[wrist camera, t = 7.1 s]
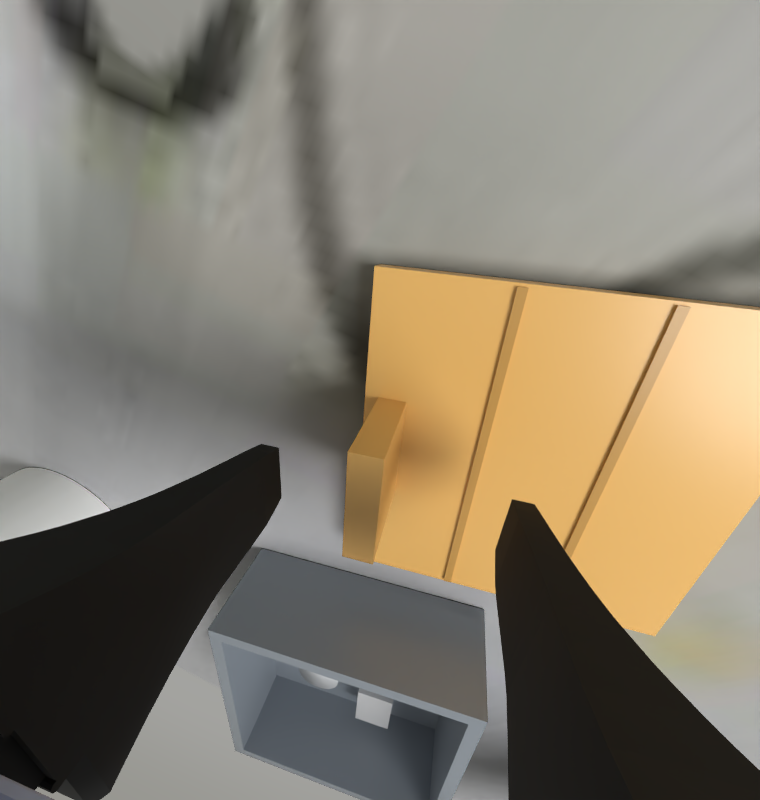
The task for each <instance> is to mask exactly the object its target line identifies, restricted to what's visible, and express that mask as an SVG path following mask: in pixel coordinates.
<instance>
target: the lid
mask: <svg viewBox="0 0 760 800" xmlns="http://www.w3.org/2000/svg"><path fill="white" fill-rule="evenodd" d="M759 496H760V307H753V306H744V305H736V304H727V303H718V302H709V301H700V300H692V299H683V298H674V297H665V296H657V295H648V294H639V293H630V292H621V291H613V290H604V289H595V288H586V287H578V286H569V285H560V284H551V283H542V282H534V281H525V280H516V279H507V278H499V277H490V276H481V275H472V274H463V273H455V272H446V271H437V270H428V269H420V268H411V267H402V266H393V265H384V264H379V265H376V266H374V279H373V293H372V307H371V321H370V334H369V348H368V362H367V376H366V390H365V404H364V417H363V426H362V428H361V429H360V431H359V433H358V435H357V436H356V438H355V440H354V442H353V443H352V445H351V447H350V449H349V450H348V455H347V474H346V494H345V513H344V533H343V552H342V556H343V557H347V558H351V559H355V560H358V561H362V562H366V563H369V564H373V562H378V563H382V564H385V565H389V566H393V567H397V568H400V569H404V570H408V571H412V572H415V573H419V574H423V575H427V576H430V577H434V578H438V579H442V580H444V581H448V582H453V583H457V584H461V585H464V586H468V587H472V588H476V589H479V590H483V591H487V592H491V593H494V594H496V590H495V549H496V546H497V543H498V540H499V537H500V534H501V531H502V528H503V525H504V522H505V519H506V516H507V513H508V510H509V507H510V504H511V501H512V499H514V500H518V501H523V502H527V503H532V504H535V505H536V507H537V508H538V510H539V511H540V513H541V515H542V516H543V518H544V519H545V521H546V522H547V524H548V525H549V527H550V529H551V530H552V532H553V533H554V535H555V536H556V538H557V539H558V541H559V542H560V544H561V545H562V547H563V548H564V550H565V551H566V553H567V554H568V556H569V557H570V559H571V560H572V562H573V563H574V564H575V566H576V567H577V569H578V570H579V572H580V573H581V574H582V576H583V577H584V579H585V580H586V581H587V583H588V584H589V586H590V587H591V588H592V590H593V591H594V592H595V594H596V595H597V596H598V597H599V599H600V600H601V601H602V603H603V604H604V605H605V606H606V608H607V609H608V610H609V612H610V613H611V614H612V615H613V617H614V618H615V619H616V620H617V622H618V623H619V624H620V625H621V626H622V628H626V629H630V630H633V631H637V632H641V633H645V634H648V635H652V636H655V635H656V634H657V633H658V631H659V630H660V629H661V627H662V626H663V625H664V623H665V622H666V621H667V619H668V618H669V617H670V615H671V614H672V612H673V611H674V610H675V608H676V607H677V606H678V604H679V603H680V602H681V600H682V599H683V598H684V596H685V595H686V594H687V592H688V591H689V590H690V588H691V587H692V586H693V584H694V583H695V582H696V580H697V579H698V578H699V576H700V575H701V574H702V572H703V571H704V570H705V568H706V567H707V566H708V564H709V563H710V562H711V560H712V559H713V558H714V556H715V555H716V553H717V552H718V551H719V549H720V548H721V547H722V545H723V544H724V543H725V541H726V540H727V539H728V537H729V536H730V535H731V533H732V532H733V531H734V529H735V528H736V527H737V525H738V524H739V523H740V521H741V520H742V519H743V517H744V516H745V515H746V513H747V512H748V511H749V509H750V508H751V507H752V505H753V504H754V503H755V501H756V500H757V499H758V497H759Z"/></svg>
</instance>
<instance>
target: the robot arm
mask: <svg viewBox="0 0 760 800" xmlns="http://www.w3.org/2000/svg"><path fill="white" fill-rule="evenodd" d="M280 499H281V480H280V462H279V448H277V447H272V446H268V445H263V444H260V445H258V446H256V447H254V448H251V449H249V450H247V451H245V452H243V453H241V454H239V455H237V456H235V457H233V458H231V459H229V460H227V461H225V462H223V463H221V464H219V465H217V466H215V467H213V468H211V469H209V470H207V471H205V472H203V473H201V474H199V475H196V476H194V477H192V478H190V479H188V480H185V481H183V482H181V483H179V484H176V485H174V486H172V487H170V488H168V489H165V490H163V491H161V492H158V493H156V494H153V495H151V496H148V497H146V498H143V499H141V500H138V501H136V502H133V503H130V504H127V505H125V506H122V507H119V508H116V509H114V510H111V511H108V512H104V513H101V514H98V515H95V516H92V517H88V518H85V519H82V520H79V521H76V522H72V523H69V524H66V525H63V526H59V527H55V528H52V529H48V530H44V531H41V532H37V533H33V534H29V535H25V536H21V537H17V538H13V539H9V540H4V541H0V800H54V799H52V798H49V797H47V796H45V795H43V794H41V793H39V792H37V791H35V789H36V788H37V787H40V788H42V789H44V790H46V791H48V792H51V793H54V792H56V791H57V792H59V793H61V794H63V795H65V796H68V797H70V798H72V799H74V800H100V799H102V798H103V797H104V796H105V795H107V794H108V793H109V792H110V791H111V789H112V787H113V785H114V783H115V780H116V779H117V777H118V775H119V773H120V771H121V768H122V767H123V765H124V762H125V760H126V759H127V757H128V755H129V753H130V751H131V748H132V747H133V745H134V742H135V740H136V738H137V737H138V735H139V732H140V731H141V729H142V726H143V725H144V723H145V721H146V719H147V717H148V715H149V713H150V711H151V709H152V707H153V705H154V704H155V702H156V700H157V698H158V696H159V694H160V692H161V690H162V689H163V687H164V685H165V683H166V681H167V679H168V677H169V675H170V674H171V672H172V670H173V668H174V666H175V665H176V663H177V661H178V659H179V658H180V656H181V654H182V652H183V650H184V649H185V647H186V645H187V643H188V642H189V640H190V638H191V636H192V635H193V633H194V631H195V629H196V628H197V626H198V624H199V623H200V621H201V619H202V618H203V616H204V614H205V613H206V611H207V609H208V608H209V606H210V604H211V603H212V601H213V600H214V598H215V597H216V595H217V594H218V592H219V591H220V589H221V588H222V586H223V585H224V583H225V582H226V581H227V579H228V578H229V577H230V575H231V574H232V572H233V571H234V570H235V568H236V567H237V565H238V564H239V563H240V561H241V560H242V559H243V557H244V556H245V554H246V553H247V552H248V550H249V549H250V548H251V546H252V545H253V543H254V542H255V541H256V539H257V538H258V536H259V535H260V534H261V532H262V531H263V529H264V528H265V526H266V525H267V523H268V521H269V520H270V518H271V516H272V514H273V512H274V511H275V509H276V507H277V505H278V503H279V501H280ZM495 590H496V600H497V609H498V618H499V626H500V635H501V644H502V653H503V661H504V670H505V681H506V694H507V728H508V785H509V800H760V770H759V769H757V768H756V767H755V766H754V765H753V764H752V763H751V762H750V761H749V760H748V759H747V758H746V757H745V756H744V755H743V754H742V753H741V752H740V751H738V750H737V749H736V748H735V747H734V746H733V745H732V744H731V743H730V742H729V741H728V740H727V739H726V738H725V737H724V736H723V735H722V734H721V733H720V732H719V731H718V730H717V729H716V728H715V727H714V726H713V725H712V724H711V723H710V722H709V721H708V720H707V719H706V718H705V717H704V716H703V715H702V714H701V713H700V712H699V711H698V710H697V709H696V708H695V707H694V706H693V705H692V703H691V702H690V701H689V700H688V699H687V698H686V697H685V696H684V695H683V694H682V693H681V692H680V691H679V690H678V689H677V688H676V687H675V686H674V685H673V684H672V683H671V682H670V681H669V680H668V678H667V677H666V676H665V675H664V674H663V673H662V672H661V671H660V670H659V669H658V668H657V667H656V665H655V664H654V663H653V662H652V661H651V660H650V659H649V658H648V656H647V655H646V654H645V653H644V652H643V651H642V650H641V648H640V647H639V646H638V645H637V644H636V643H635V641H634V640H633V639H632V638H631V637H630V636H629V635H628V633H627V632H626V631H625V630H624V629H623V628H622V626H621V625H620V624H619V623H618V622H617V620H616V619H615V618H614V617H613V615H612V614H611V613H610V612H609V610H608V609H607V608H606V606H605V605H604V604H603V603H602V601H601V600H600V599H599V597H598V596H597V595H596V594H595V592H594V591H593V590H592V588H591V587H590V586H589V584H588V583H587V581H586V580H585V579H584V577H583V576H582V574H581V573H580V572H579V570H578V569H577V567H576V566H575V564H574V563H573V562H572V560H571V559H570V557H569V556H568V554H567V553H566V551H565V550H564V548H563V547H562V545H561V544H560V542H559V541H558V539H557V538H556V536H555V535H554V533H553V532H552V530H551V529H550V527H549V525H548V524H547V522H546V521H545V519H544V518H543V516H542V515H541V513H540V511H539V510H538V508H537V507H536V505H535V504H532V503H527V502H523V501H518V500H514V499H512V501H511V504H510V507H509V510H508V513H507V516H506V519H505V522H504V525H503V528H502V531H501V534H500V537H499V540H498V543H497V546H496V549H495Z"/></svg>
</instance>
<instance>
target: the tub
mask: <svg viewBox="0 0 760 800" xmlns="http://www.w3.org/2000/svg"><path fill="white" fill-rule="evenodd" d="M208 634H209V639H210V643H211V647H212V652H213V656H214V660H215V665H216V669H217V673H218V678H219V682H220V686H221V691H222V695H223V699H224V704H225V708H226V712H227V716H228V721H229V725H230V730H231V734H232V738H233V743H234V747H235V750H236V751H238V752H240V753H243V754H245V755H248V756H250V757H253V758H255V759H258V760H261V761H263V762H266V763H268V764H271V765H274V766H276V767H278V768H281V769H284V770H286V771H289V772H291V773H294V774H296V775H299V776H301V777H304V778H307V779H309V780H312V781H314V782H317V783H319V784H322V785H324V786H327V787H329V788H332V789H335V790H337V791H340V792H342V793H345V794H348V795H350V796H353V797H355V798H358V799H360V800H452V798H453V796H454V794H455V791H456V789H457V787H458V785H459V783H460V781H461V779H462V776H463V774H464V772H465V770H466V768H467V766H468V764H469V761H470V759H471V757H472V755H473V753H474V751H475V749H476V746H477V744H478V742H479V740H480V738H481V736H482V734H483V731H484V729H485V727H486V725H487V723H488V716H487V684H486V653H485V622H484V610H483V609H480V608H476V607H473V606H469V605H465V604H462V603H458V602H454V601H451V600H447V599H444V598H440V597H436V596H433V595H429V594H425V593H422V592H418V591H415V590H411V589H407V588H404V587H400V586H397V585H393V584H389V583H386V582H382V581H378V580H375V579H371V578H368V577H364V576H360V575H357V574H353V573H349V572H346V571H342V570H339V569H335V568H331V567H328V566H324V565H320V564H317V563H313V562H310V561H306V560H302V559H299V558H295V557H291V556H288V555H284V554H281V553H277V552H273V551H270V550H266V549H261V551H260V552H259V554H258V555H257V557H256V558H255V560H254V561H253V563H252V564H251V566H250V567H249V569H248V570H247V572H246V573H245V575H244V576H243V578H242V579H241V581H240V582H239V584H238V585H237V587H236V588H235V590H234V591H233V593H232V594H231V596H230V597H229V599H228V600H227V602H226V603H225V605H224V606H223V607H222V609H221V610H220V612H219V613H218V615H217V616H216V618H215V619H214V621H213V622H212V624H211V625H210V627H209V628H208Z"/></svg>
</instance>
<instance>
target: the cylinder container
mask: <svg viewBox="0 0 760 800" xmlns="http://www.w3.org/2000/svg"><path fill="white" fill-rule="evenodd" d="M108 511H111V510H110V509H109V508H108V507H107V506H106V505H105V504H104V503H103V502H102V501H101V500H100V499H98V498H97V497H96V496H95V495H94V494H92V493H91V492H90V491H89V490H87V489H86V488H84V487H83V486H81V485H80V484H78V483H77V482H75V481H73V480H71V479H69V478H68V477H66V476H64V475H61V474H59V473H56V472H54V471H51V470H47V469H42V468H24V469H21V470H19V471H17V472H15V473H13V474H11V475H9V476H7V477H5V478H3V479H2V480H0V541H4V540H9V539H13V538H17V537H21V536H25V535H29V534H33V533H37V532H41V531H44V530H48V529H52V528H55V527H59V526H63V525H66V524H69V523H72V522H76V521H79V520H82V519H85V518H88V517H92V516H95V515H98V514H101V513H104V512H108Z"/></svg>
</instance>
